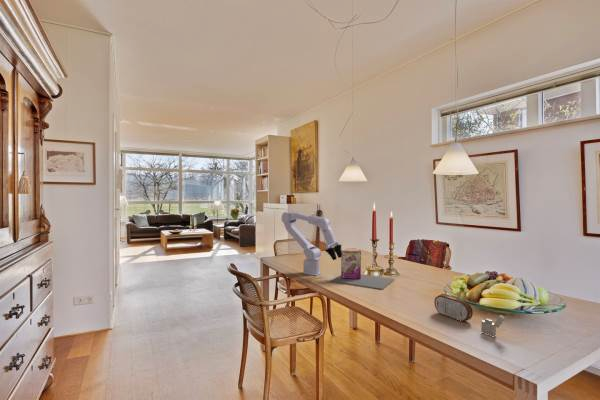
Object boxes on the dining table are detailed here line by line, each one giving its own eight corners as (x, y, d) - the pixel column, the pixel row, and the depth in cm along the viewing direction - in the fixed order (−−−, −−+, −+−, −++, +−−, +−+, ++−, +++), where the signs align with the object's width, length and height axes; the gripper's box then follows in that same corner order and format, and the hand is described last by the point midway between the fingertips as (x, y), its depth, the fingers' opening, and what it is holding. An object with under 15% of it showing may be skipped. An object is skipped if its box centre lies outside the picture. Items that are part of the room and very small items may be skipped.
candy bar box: (341, 279, 183) (341, 250, 183) (341, 276, 188) (340, 249, 188) (361, 279, 182) (361, 250, 182) (360, 277, 187) (360, 249, 187)
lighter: (481, 333, 113) (481, 310, 113) (483, 331, 114) (483, 309, 114) (502, 340, 107) (502, 317, 107) (505, 339, 108) (505, 316, 108)
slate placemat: (330, 281, 180) (330, 280, 180) (346, 273, 199) (346, 272, 199) (382, 289, 164) (382, 288, 164) (394, 279, 183) (394, 278, 183)
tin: (473, 323, 121) (473, 301, 121) (468, 325, 120) (468, 302, 120) (437, 311, 134) (437, 291, 134) (433, 312, 133) (433, 292, 132)
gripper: (329, 236, 184) (338, 258, 181) (339, 233, 196) (348, 254, 194) (319, 240, 187) (328, 262, 185) (330, 237, 200) (338, 258, 197)
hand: (337, 258), depth 189 cm, fingers open, 7 cm apart
